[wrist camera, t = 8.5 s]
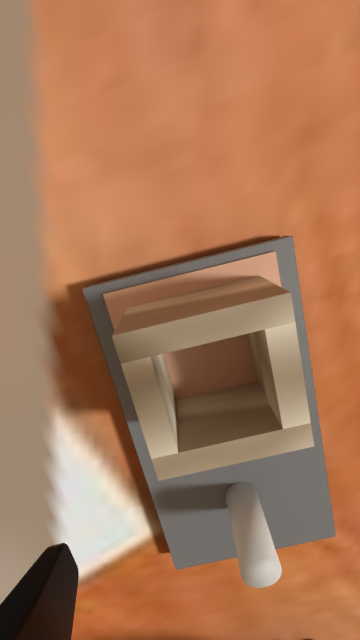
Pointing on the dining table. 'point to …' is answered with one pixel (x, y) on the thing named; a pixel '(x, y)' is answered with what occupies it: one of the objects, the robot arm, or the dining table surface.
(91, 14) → the dining table surface
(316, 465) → the stand board
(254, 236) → the dining table surface
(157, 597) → the dining table surface
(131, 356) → the beige square hollow block
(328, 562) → the dining table surface
